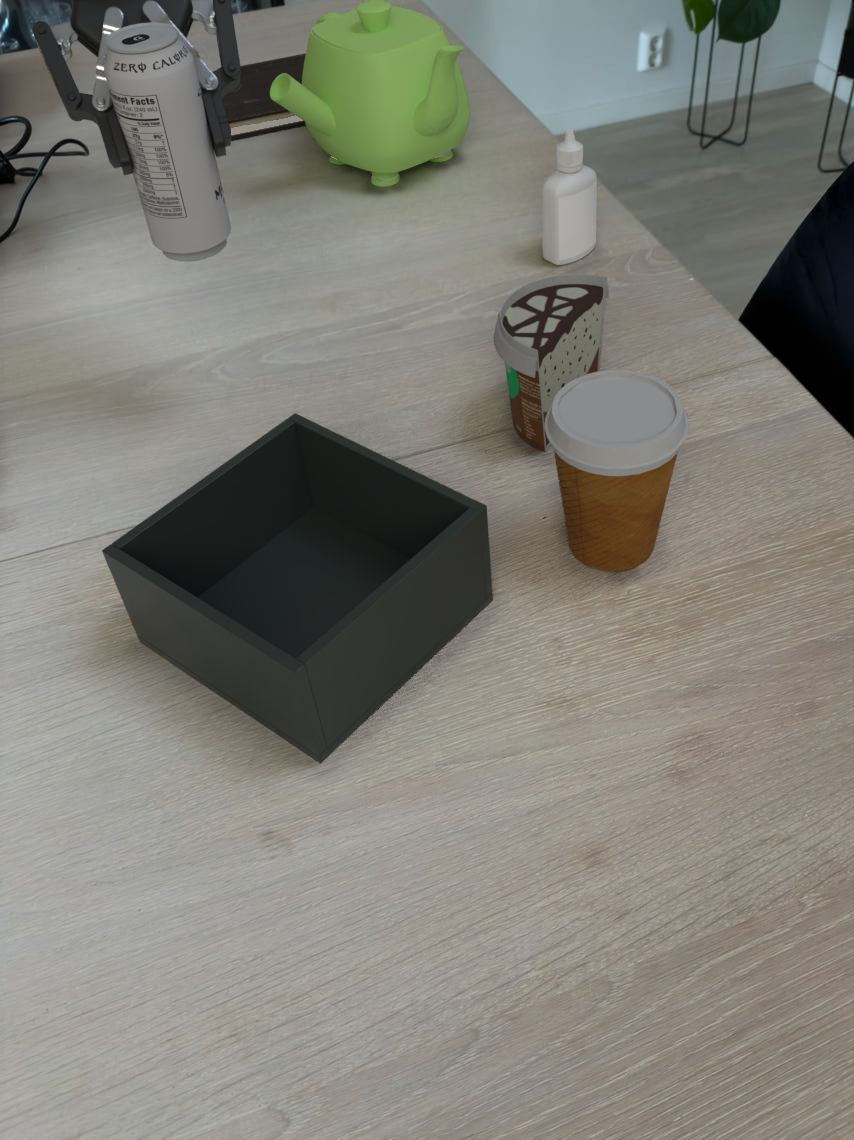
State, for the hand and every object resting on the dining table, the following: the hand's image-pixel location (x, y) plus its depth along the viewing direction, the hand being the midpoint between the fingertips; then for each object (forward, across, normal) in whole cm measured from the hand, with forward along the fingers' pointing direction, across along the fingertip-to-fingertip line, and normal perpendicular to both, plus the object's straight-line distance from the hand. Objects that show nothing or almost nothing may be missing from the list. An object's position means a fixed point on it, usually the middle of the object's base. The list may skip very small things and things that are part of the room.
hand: (175, 160), depth 80 cm
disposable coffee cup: (+35, +22, -4) cm, 41 cm away
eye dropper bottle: (+7, +36, +24) cm, 44 cm away
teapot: (-11, +24, +42) cm, 50 cm away
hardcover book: (-28, +14, +59) cm, 67 cm away
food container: (+22, +24, +8) cm, 34 cm away
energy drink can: (+4, 0, +6) cm, 8 cm away
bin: (+34, 0, -3) cm, 34 cm away
